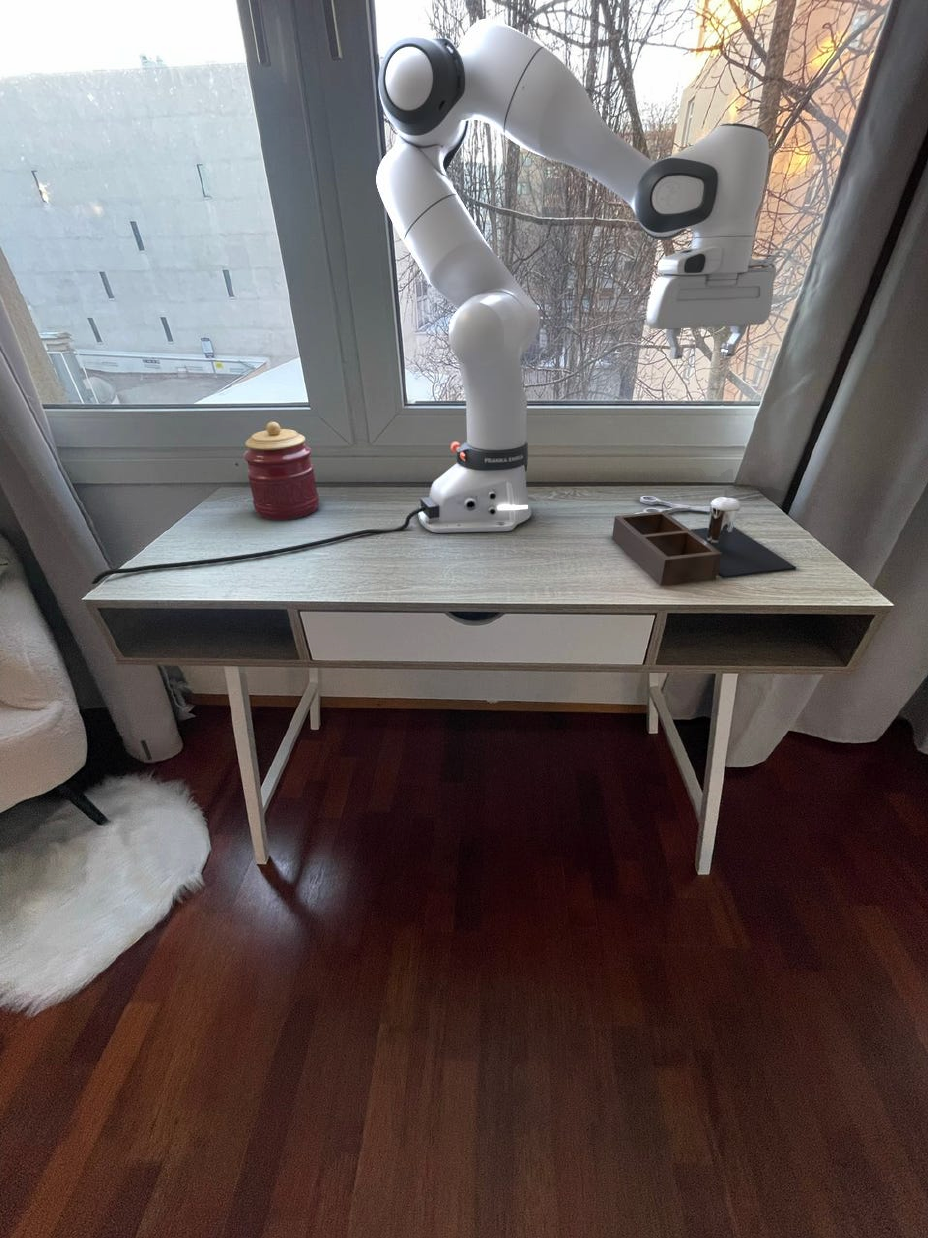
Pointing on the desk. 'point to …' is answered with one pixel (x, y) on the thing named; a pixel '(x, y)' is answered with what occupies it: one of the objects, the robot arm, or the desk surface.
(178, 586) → the desk surface
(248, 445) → the kitchen canister
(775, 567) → the mouse pad
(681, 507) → the scissors
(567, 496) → the desk surface
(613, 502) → the desk surface
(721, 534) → the milkshake
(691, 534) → the caddy
